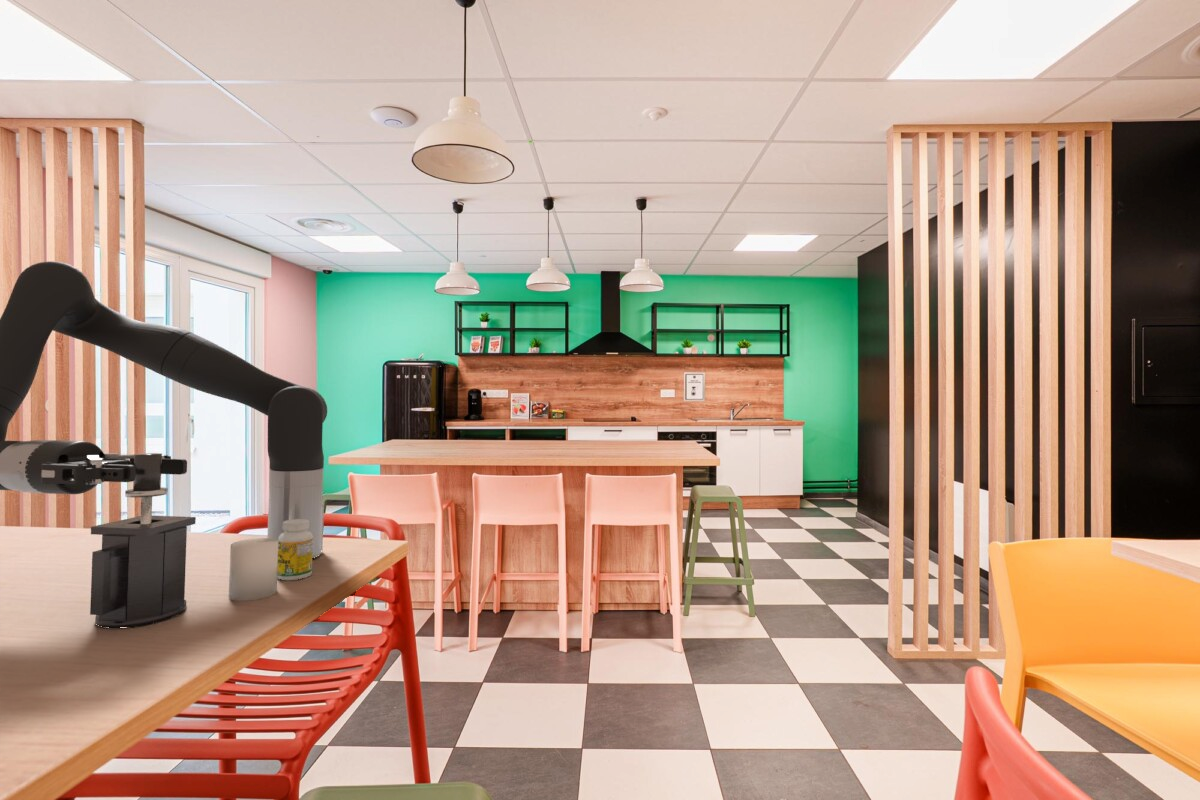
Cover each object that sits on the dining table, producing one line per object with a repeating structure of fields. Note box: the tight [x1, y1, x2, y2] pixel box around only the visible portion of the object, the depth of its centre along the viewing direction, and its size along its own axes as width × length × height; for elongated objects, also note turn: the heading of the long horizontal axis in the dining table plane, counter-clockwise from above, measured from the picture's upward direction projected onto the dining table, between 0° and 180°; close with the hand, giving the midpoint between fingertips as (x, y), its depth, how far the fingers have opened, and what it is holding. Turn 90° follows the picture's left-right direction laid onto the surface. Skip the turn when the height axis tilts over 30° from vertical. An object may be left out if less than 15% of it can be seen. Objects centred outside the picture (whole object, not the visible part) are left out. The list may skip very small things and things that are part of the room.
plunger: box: [124, 452, 169, 524], centre depth 77 cm, size 5×5×21 cm
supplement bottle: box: [277, 519, 313, 581], centre depth 95 cm, size 5×5×10 cm
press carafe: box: [89, 515, 197, 628], centre depth 76 cm, size 12×10×13 cm
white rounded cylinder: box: [228, 537, 278, 602], centre depth 86 cm, size 6×6×8 cm
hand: (160, 470), depth 77 cm, fingers open, 8 cm apart
